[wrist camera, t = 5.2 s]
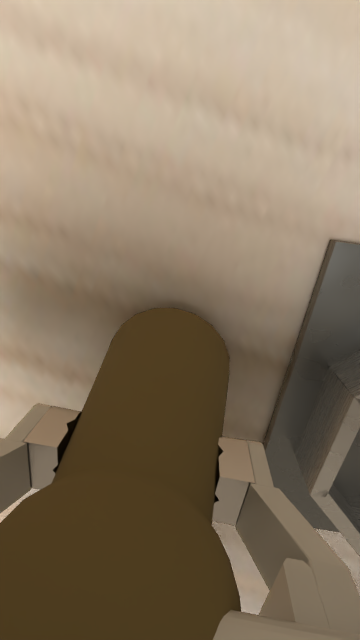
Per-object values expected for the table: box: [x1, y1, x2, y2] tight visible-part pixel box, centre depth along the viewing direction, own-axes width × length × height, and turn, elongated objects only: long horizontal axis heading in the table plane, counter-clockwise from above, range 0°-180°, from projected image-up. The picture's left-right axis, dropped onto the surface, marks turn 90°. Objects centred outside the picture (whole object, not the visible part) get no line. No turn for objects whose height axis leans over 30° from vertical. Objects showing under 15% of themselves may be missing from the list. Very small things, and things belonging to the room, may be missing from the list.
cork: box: [0, 308, 241, 640], centre depth 9 cm, size 6×6×11 cm
